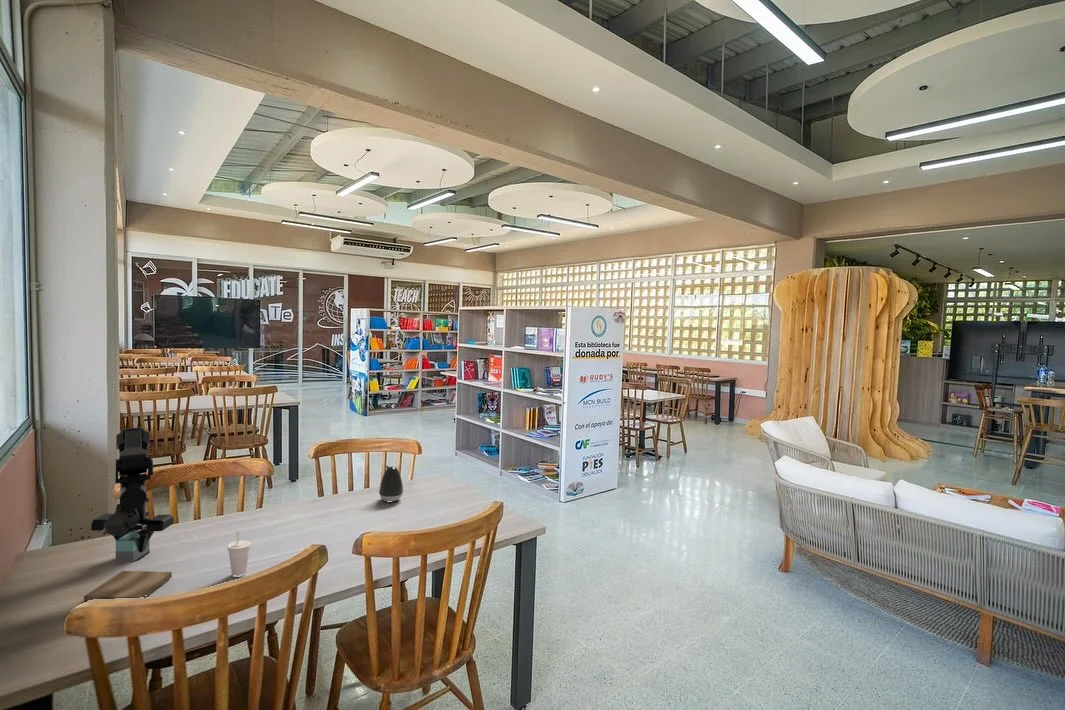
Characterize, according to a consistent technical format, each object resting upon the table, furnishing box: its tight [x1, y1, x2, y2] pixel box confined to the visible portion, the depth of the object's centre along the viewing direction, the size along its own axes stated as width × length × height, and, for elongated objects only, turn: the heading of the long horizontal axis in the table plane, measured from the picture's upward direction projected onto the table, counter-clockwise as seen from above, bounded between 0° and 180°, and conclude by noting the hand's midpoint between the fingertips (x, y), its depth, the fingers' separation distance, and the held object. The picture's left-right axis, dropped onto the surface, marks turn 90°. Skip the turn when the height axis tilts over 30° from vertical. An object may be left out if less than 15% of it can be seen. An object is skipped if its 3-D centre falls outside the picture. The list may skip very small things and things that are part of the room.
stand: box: [83, 570, 173, 603], centre depth 145 cm, size 14×14×2 cm
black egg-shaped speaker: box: [378, 465, 404, 502], centre depth 226 cm, size 10×10×15 cm
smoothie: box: [226, 530, 252, 578], centre depth 157 cm, size 6×6×14 cm
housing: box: [115, 530, 150, 563], centre depth 145 cm, size 7×4×6 cm, turn 6°
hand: (133, 551), depth 145 cm, fingers closed on housing, 4 cm apart
